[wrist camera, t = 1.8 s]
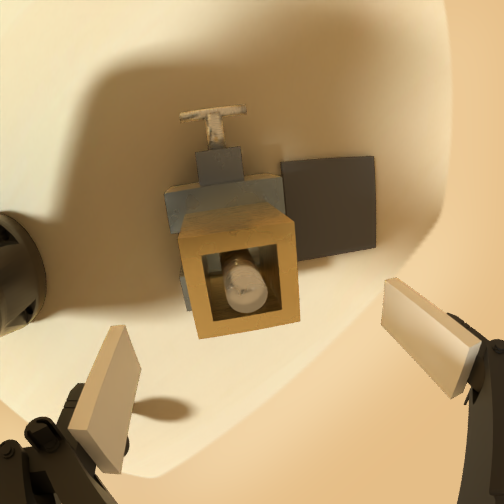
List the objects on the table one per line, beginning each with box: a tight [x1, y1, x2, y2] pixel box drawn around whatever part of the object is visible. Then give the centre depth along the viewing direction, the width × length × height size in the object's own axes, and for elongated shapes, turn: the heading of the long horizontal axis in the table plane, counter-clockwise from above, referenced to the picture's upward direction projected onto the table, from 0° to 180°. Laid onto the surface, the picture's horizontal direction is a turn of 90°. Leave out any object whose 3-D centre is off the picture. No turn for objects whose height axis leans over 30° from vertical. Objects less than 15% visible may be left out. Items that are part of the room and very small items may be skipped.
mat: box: [281, 156, 376, 261], centre depth 33 cm, size 11×11×1 cm
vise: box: [164, 104, 286, 313], centre depth 24 cm, size 10×18×16 cm, turn 6°
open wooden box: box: [178, 202, 300, 339], centre depth 23 cm, size 7×7×8 cm
